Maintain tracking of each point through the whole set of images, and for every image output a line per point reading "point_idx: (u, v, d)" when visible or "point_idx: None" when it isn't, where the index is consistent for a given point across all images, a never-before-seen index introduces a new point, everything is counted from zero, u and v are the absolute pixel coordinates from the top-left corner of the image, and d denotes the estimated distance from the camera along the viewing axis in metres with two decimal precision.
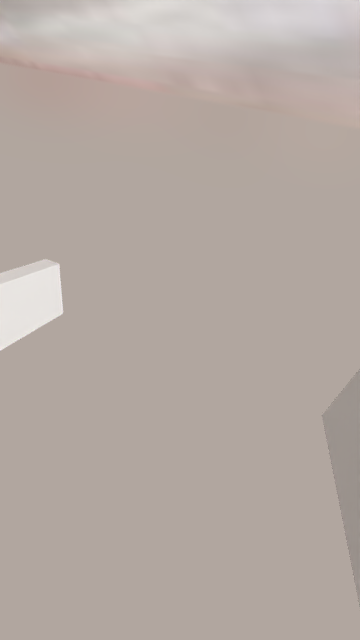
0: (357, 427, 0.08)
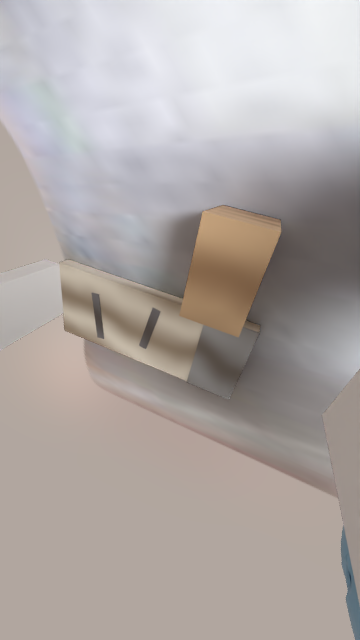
0: (357, 427, 0.08)
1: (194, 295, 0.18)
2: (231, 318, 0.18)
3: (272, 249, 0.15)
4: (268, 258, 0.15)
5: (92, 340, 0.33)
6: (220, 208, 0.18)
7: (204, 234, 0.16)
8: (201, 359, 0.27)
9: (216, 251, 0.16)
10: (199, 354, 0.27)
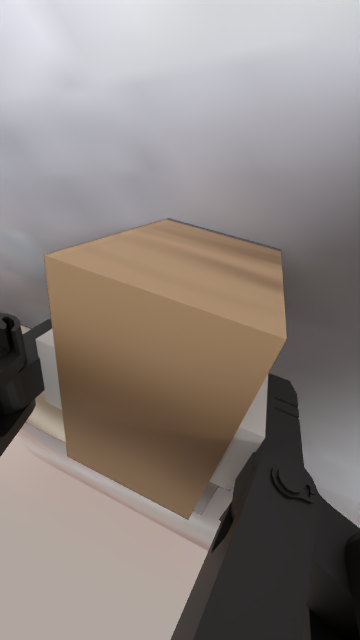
0: None
1: (83, 432, 0.08)
2: (167, 489, 0.08)
3: (257, 381, 0.05)
4: (246, 400, 0.05)
5: None
6: (144, 231, 0.08)
7: (66, 317, 0.06)
8: None
9: (105, 359, 0.06)
10: None
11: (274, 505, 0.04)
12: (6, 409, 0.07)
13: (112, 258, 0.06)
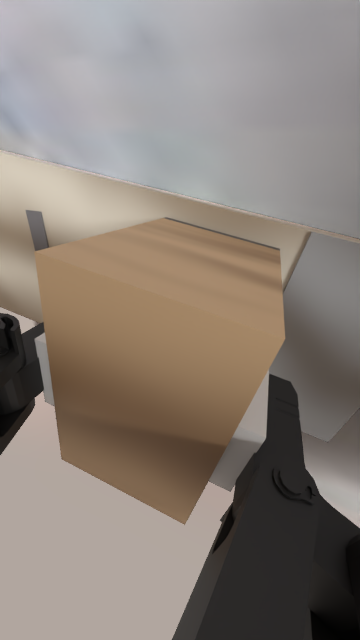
0: None
1: (77, 434, 0.08)
2: (163, 493, 0.08)
3: (255, 382, 0.04)
4: (243, 402, 0.05)
5: (42, 321, 0.17)
6: (140, 229, 0.08)
7: (58, 316, 0.05)
8: None
9: (99, 359, 0.06)
10: None
11: (275, 506, 0.04)
12: (5, 409, 0.07)
13: (106, 255, 0.05)
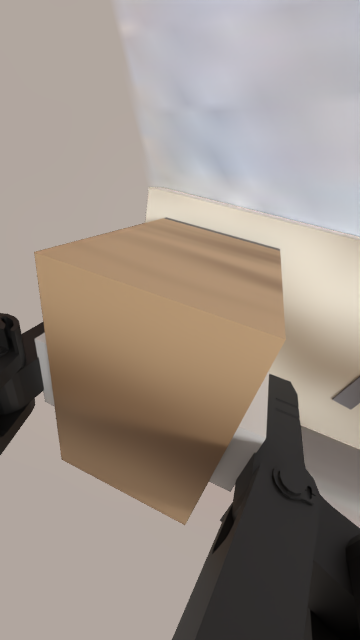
0: None
1: (77, 434, 0.08)
2: (163, 494, 0.08)
3: (255, 383, 0.04)
4: (243, 402, 0.05)
5: None
6: (140, 229, 0.08)
7: (58, 316, 0.05)
8: None
9: (99, 360, 0.06)
10: None
11: (275, 506, 0.04)
12: (5, 409, 0.07)
13: (106, 256, 0.05)
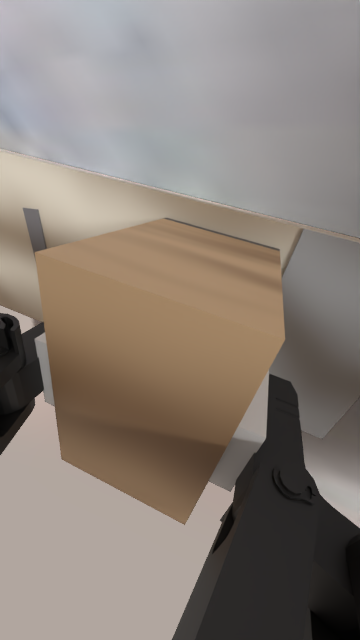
0: None
1: (76, 434, 0.08)
2: (163, 493, 0.08)
3: (254, 383, 0.04)
4: (243, 402, 0.05)
5: (40, 318, 0.17)
6: (140, 229, 0.08)
7: (58, 316, 0.05)
8: None
9: (99, 360, 0.06)
10: None
11: (275, 506, 0.04)
12: (5, 409, 0.07)
13: (106, 256, 0.05)
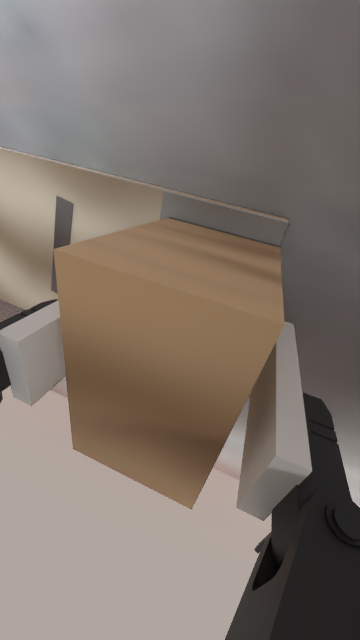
0: None
1: (89, 423, 0.08)
2: (171, 478, 0.08)
3: (257, 367, 0.05)
4: (246, 386, 0.05)
5: None
6: (147, 228, 0.08)
7: (74, 308, 0.06)
8: None
9: (112, 349, 0.06)
10: None
11: (331, 551, 0.04)
12: None
13: (118, 252, 0.06)
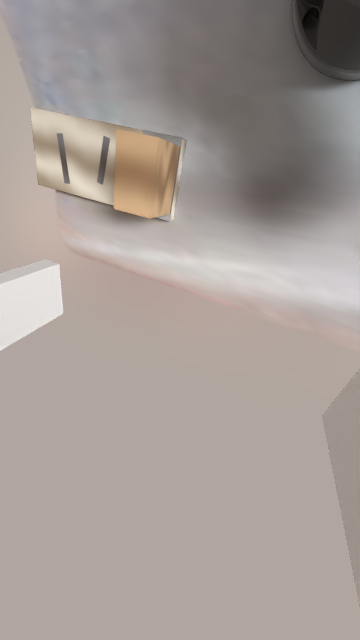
0: (357, 427, 0.08)
1: (120, 190, 0.29)
2: (143, 204, 0.29)
3: (156, 149, 0.25)
4: (155, 156, 0.26)
5: (61, 189, 0.39)
6: None
7: (119, 145, 0.26)
8: None
9: (127, 155, 0.27)
10: None
11: None
12: None
13: None
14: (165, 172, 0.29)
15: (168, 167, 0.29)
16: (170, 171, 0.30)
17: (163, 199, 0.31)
